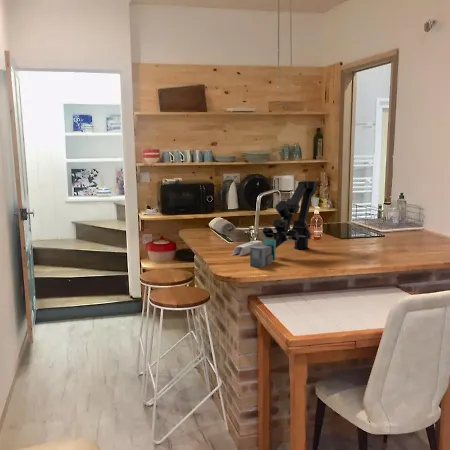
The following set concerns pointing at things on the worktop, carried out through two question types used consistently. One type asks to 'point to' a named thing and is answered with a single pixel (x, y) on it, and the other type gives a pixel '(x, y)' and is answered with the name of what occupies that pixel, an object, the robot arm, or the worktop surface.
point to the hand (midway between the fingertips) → (275, 247)
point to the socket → (257, 256)
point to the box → (246, 247)
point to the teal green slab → (272, 243)
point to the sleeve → (268, 255)
